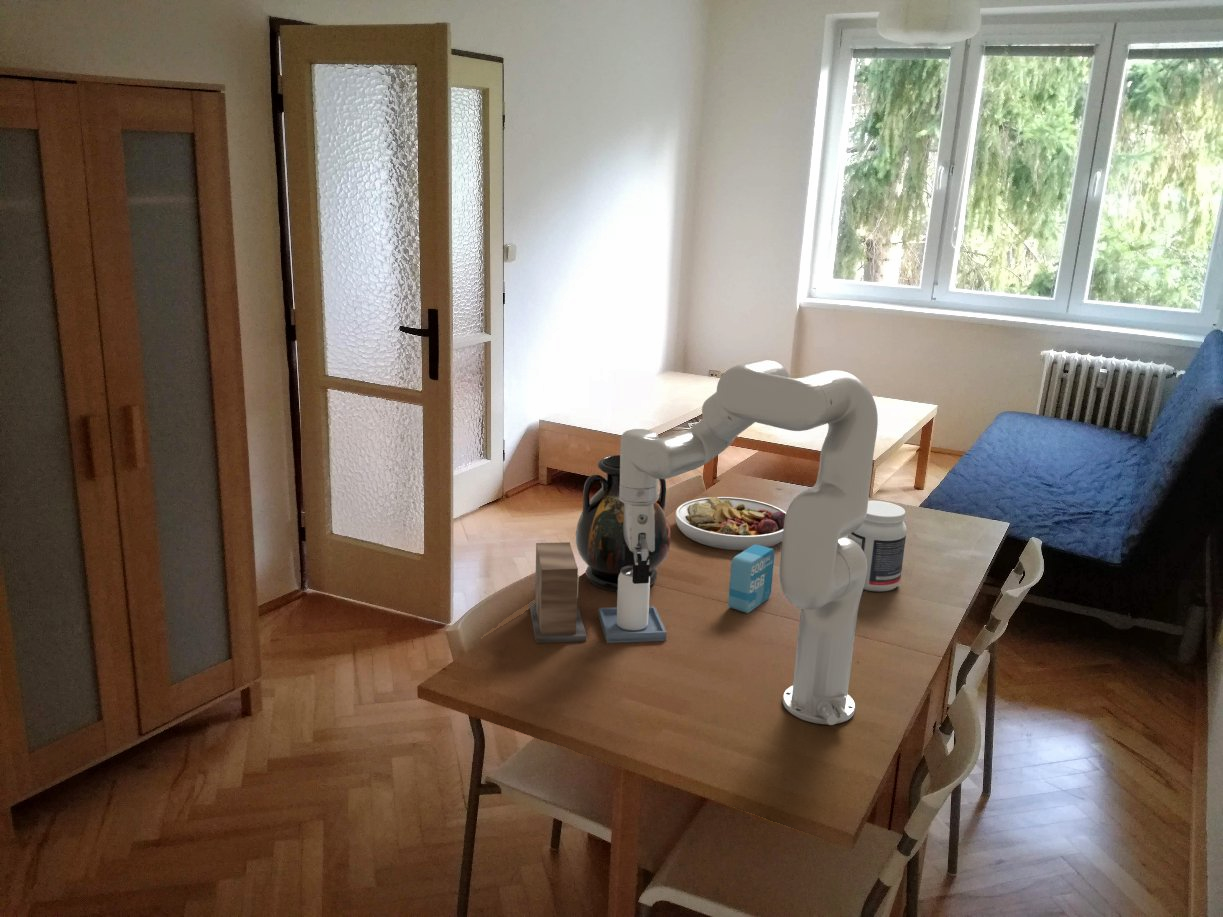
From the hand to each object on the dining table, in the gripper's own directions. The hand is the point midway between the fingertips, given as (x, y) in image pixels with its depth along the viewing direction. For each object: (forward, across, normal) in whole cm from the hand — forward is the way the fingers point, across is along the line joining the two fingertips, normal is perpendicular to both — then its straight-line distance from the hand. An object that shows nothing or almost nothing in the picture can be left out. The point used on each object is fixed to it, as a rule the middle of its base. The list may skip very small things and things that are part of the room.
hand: (636, 573), depth 198 cm
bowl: (+12, +54, -36) cm, 65 cm away
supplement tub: (+13, +20, -60) cm, 64 cm away
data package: (+13, +11, -28) cm, 32 cm away
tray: (+12, +1, 0) cm, 12 cm away
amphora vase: (+12, +26, -2) cm, 28 cm away
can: (+12, 0, 0) cm, 12 cm away
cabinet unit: (+12, +4, +16) cm, 20 cm away
